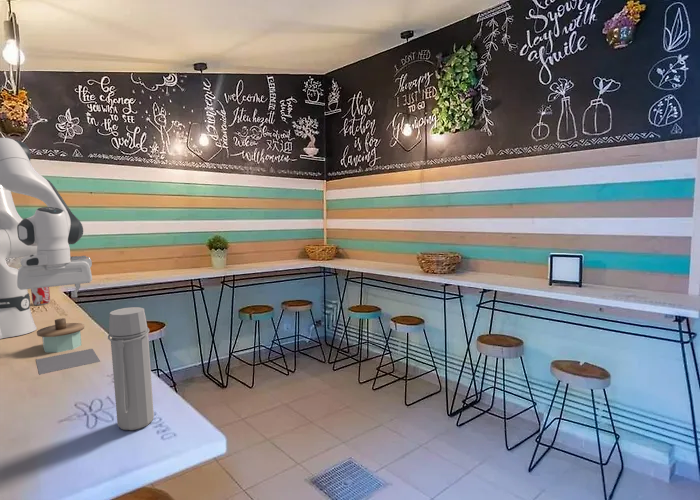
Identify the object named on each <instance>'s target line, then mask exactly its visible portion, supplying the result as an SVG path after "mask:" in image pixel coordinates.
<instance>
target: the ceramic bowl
mask: <svg viewBox="0 0 700 500" xmlns="http://www.w3.org/2000/svg"><path fill="white" fill-rule="evenodd" d="M81 333H82V332H81V331H79V332H76V333H72V334H68V335H63V336H56V337H42V345H43V346H42V347H43V350H44V352H45V353H61V352H66V351H71V350H74V349H77V348H79V347H81V346H82V335H81Z"/></svg>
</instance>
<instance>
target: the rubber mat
mask: <svg viewBox="0 0 700 500" xmlns="http://www.w3.org/2000/svg"><path fill="white" fill-rule="evenodd" d="M35 361H36V367H37V371H38V375H44V374H48V373H53V372H58V371H63V370H68V369H72V368H77V367H81V366H86V365H91V364H97V363H101V360H100V357H98V355H97V353H96V352H95V350H94V349H93V348H88V349H83V350H78V351H72V352H68V353H61V354H58V355H52V356H47V357H43V358H42V357H41V358H37V359H35Z"/></svg>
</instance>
